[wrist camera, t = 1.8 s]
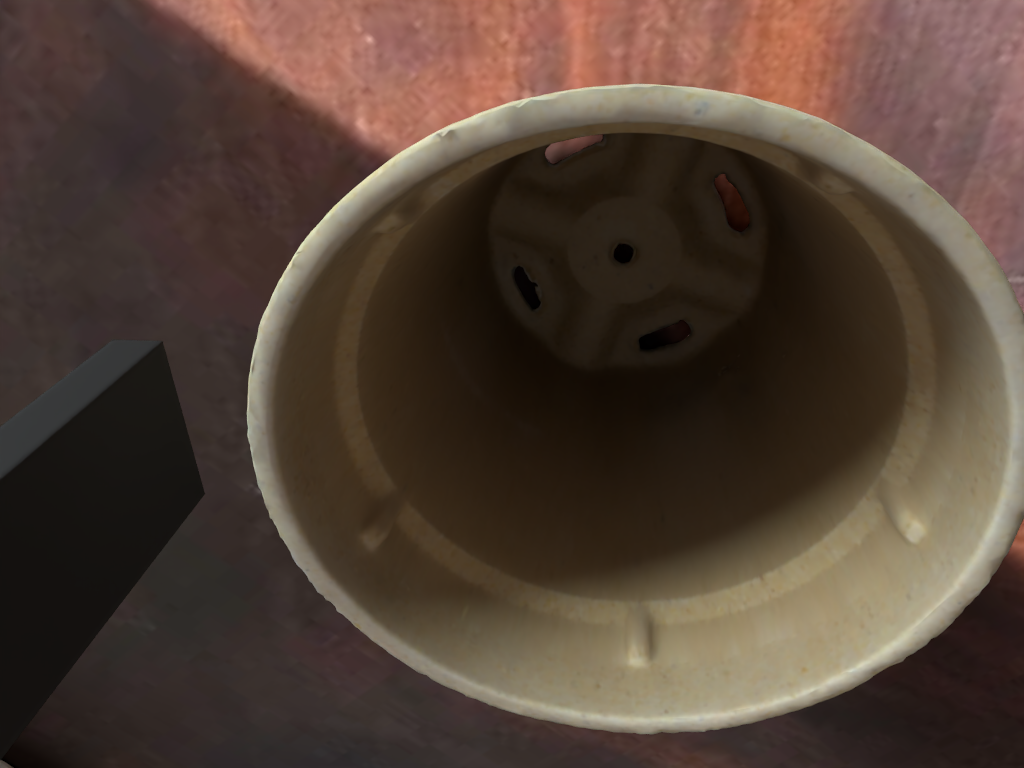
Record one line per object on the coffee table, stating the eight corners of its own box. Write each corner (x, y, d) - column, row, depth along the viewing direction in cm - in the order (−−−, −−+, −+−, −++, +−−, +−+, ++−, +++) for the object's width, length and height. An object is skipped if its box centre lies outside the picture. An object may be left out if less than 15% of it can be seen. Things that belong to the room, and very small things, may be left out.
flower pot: (630, 491, 20) (634, 815, 13) (332, 265, 18) (126, 497, 11) (948, 228, 16) (1235, 488, 8) (605, -111, 14) (581, -165, 6)
